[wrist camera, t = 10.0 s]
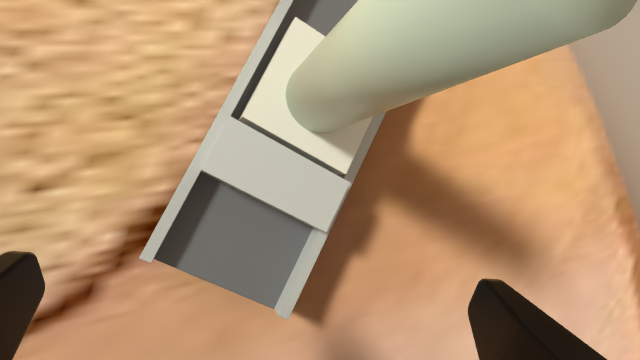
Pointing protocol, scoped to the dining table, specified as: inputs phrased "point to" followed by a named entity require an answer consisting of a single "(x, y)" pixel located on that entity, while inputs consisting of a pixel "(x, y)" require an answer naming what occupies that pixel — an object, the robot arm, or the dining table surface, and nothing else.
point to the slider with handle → (401, 63)
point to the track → (241, 221)
